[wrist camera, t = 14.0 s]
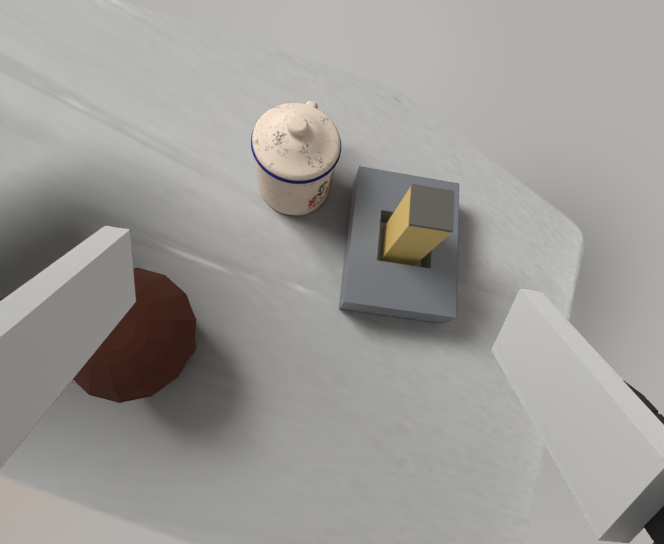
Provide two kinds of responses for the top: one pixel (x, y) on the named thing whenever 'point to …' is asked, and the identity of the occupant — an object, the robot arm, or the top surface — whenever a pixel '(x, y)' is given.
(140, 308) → the muffin
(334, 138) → the teacup with lid
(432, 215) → the plug
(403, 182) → the socket plate
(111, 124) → the top surface
